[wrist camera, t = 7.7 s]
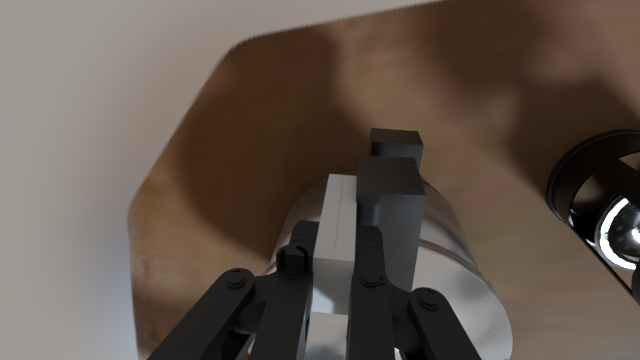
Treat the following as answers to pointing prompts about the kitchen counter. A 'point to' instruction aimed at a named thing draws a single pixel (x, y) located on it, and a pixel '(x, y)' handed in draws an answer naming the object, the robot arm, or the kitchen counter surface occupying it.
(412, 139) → the pressure cooker pot
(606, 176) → the french press
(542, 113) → the kitchen counter surface
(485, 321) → the lid
